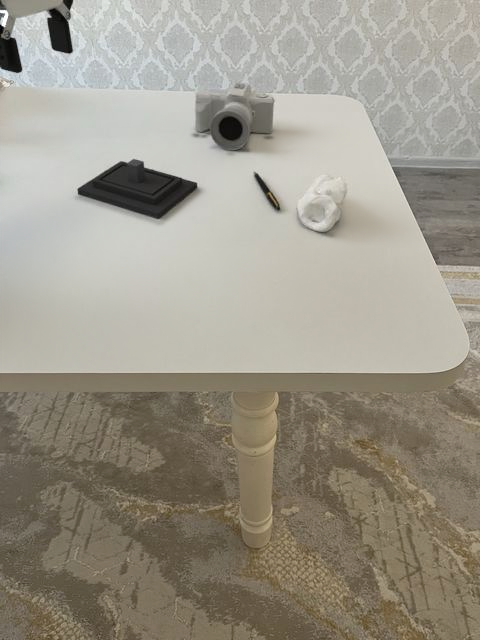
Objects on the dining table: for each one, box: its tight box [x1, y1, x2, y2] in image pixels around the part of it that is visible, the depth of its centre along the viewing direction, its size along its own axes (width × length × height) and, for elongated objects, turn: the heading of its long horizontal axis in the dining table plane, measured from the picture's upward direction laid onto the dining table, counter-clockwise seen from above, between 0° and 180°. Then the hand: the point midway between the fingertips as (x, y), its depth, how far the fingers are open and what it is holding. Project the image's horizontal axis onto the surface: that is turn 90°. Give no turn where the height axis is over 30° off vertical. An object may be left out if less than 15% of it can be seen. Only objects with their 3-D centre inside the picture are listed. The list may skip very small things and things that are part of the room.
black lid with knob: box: [102, 158, 172, 196], centre depth 98 cm, size 10×6×4 cm, turn 64°
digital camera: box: [194, 82, 276, 152], centre depth 116 cm, size 17×14×10 cm
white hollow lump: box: [295, 173, 348, 233], centre depth 95 cm, size 9×12×8 cm
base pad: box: [77, 160, 198, 220], centre depth 100 cm, size 16×12×2 cm
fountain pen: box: [253, 171, 281, 211], centre depth 101 cm, size 14×1×2 cm, turn 18°
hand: (38, 60), depth 78 cm, fingers open, 9 cm apart
